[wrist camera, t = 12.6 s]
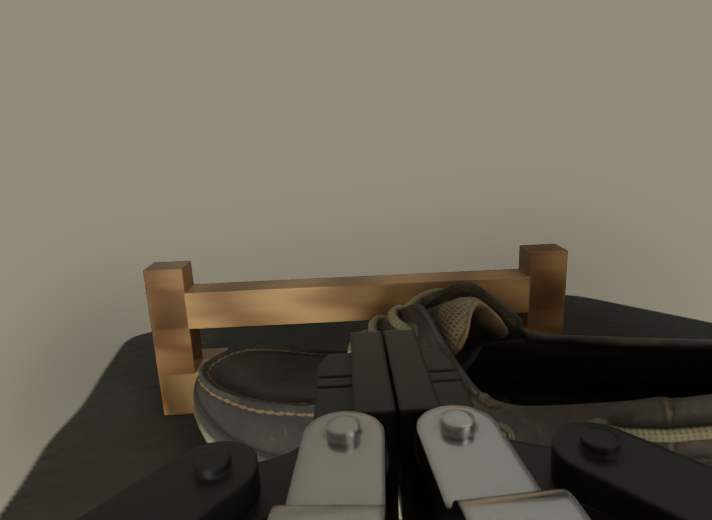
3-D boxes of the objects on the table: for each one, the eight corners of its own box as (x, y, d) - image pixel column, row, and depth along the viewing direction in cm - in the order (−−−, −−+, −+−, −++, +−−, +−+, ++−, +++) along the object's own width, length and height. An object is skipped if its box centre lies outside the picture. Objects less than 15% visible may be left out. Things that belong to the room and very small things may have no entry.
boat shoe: (264, 390, 37) (250, 244, 34) (760, 473, 26) (796, 271, 24) (155, 487, 27) (124, 294, 24) (875, 684, 17) (958, 380, 14)
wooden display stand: (522, 346, 42) (528, 226, 40) (563, 394, 35) (572, 250, 32) (193, 362, 42) (177, 242, 39) (159, 416, 34) (137, 270, 32)
